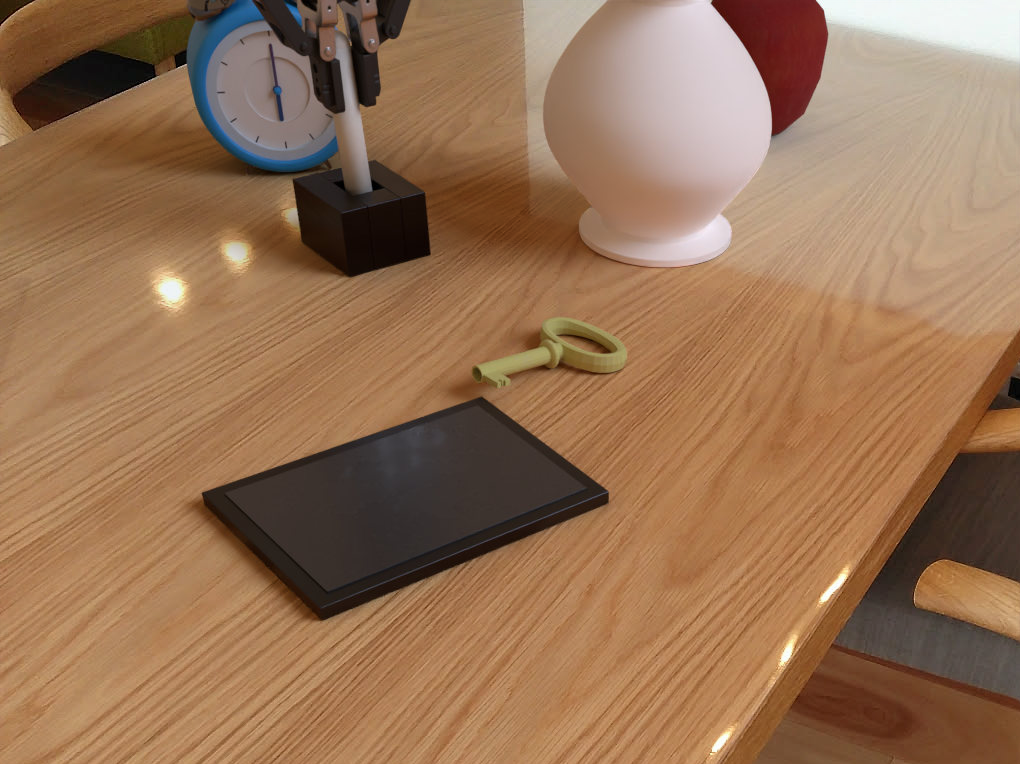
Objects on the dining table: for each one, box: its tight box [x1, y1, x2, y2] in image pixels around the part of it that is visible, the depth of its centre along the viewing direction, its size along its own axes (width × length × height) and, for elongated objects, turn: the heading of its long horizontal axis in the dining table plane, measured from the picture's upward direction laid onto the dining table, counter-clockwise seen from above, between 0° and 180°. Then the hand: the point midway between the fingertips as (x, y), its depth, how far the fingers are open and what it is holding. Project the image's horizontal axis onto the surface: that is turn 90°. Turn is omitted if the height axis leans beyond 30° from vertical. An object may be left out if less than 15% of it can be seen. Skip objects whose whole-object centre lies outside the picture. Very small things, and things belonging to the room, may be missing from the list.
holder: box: [291, 159, 432, 278], centre depth 112 cm, size 7×7×5 cm
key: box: [471, 316, 628, 390], centre depth 101 cm, size 7×12×2 cm, turn 155°
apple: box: [710, 0, 829, 136], centre depth 133 cm, size 12×12×13 cm
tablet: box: [201, 396, 610, 621], centre depth 89 cm, size 20×14×1 cm
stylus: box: [333, 29, 372, 197], centre depth 108 cm, size 2×2×14 cm
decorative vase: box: [542, 0, 772, 268], centre depth 111 cm, size 18×18×25 cm
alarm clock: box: [185, 0, 361, 176], centre depth 119 cm, size 13×6×15 cm, turn 110°
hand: (349, 105), depth 106 cm, fingers closed on stylus, 2 cm apart
